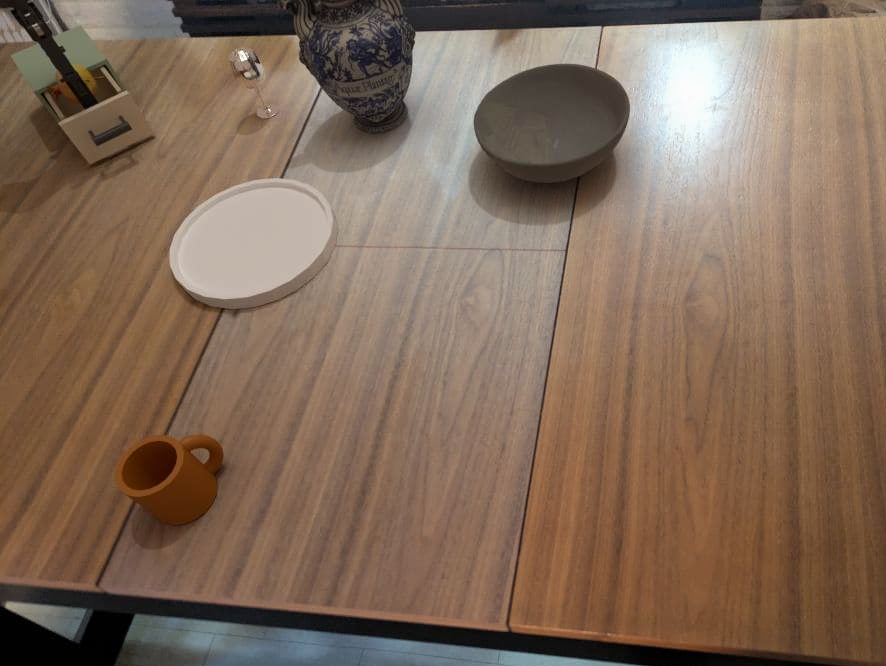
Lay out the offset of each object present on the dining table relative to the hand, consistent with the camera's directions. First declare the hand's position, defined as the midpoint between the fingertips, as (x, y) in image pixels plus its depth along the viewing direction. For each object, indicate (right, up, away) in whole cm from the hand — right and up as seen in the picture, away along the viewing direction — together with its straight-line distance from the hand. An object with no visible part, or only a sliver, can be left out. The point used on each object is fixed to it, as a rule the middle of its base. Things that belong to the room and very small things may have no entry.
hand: (86, 98), depth 134 cm
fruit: (0, 0, 0) cm, 0 cm away
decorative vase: (+55, -2, +3) cm, 56 cm away
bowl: (+89, -14, -8) cm, 91 cm away
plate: (+38, -31, -13) cm, 51 cm away
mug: (+39, -70, -37) cm, 88 cm away
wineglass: (+32, 0, +7) cm, 33 cm away
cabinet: (-8, +5, +14) cm, 16 cm away
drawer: (+2, -5, +6) cm, 8 cm away
